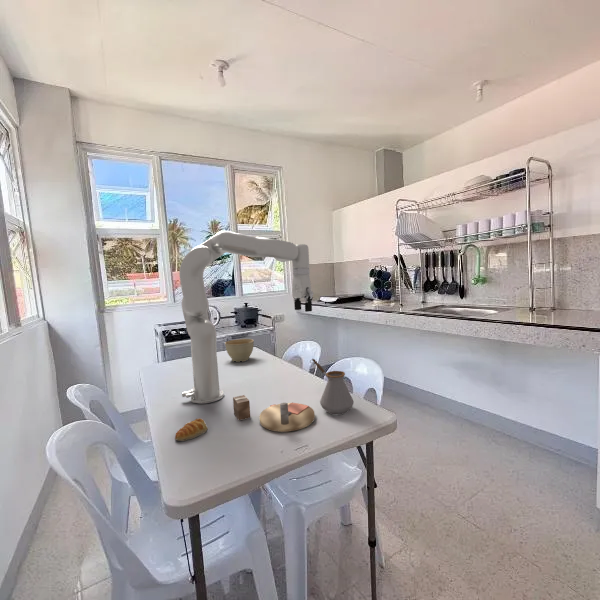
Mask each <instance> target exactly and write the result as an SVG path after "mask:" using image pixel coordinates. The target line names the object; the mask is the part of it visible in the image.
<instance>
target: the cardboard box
mask: <svg viewBox="0 0 600 600" xmlns="http://www.w3.org/2000/svg"><path fill="white" fill-rule="evenodd" d="M232 403H233V404H232V405H233V414H234V416H235V417H236V419H237V420H238V421H242V420H247V419H250V418H251V403H250V399H249V398H247V396H246V395H245V394H243V395H238V396H233V397H232Z"/></svg>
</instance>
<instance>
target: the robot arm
mask: <svg viewBox="0 0 600 600" xmlns="http://www.w3.org/2000/svg"><path fill="white" fill-rule="evenodd" d="M225 253H228V254H233V255H240V256H244V257H249V258H274V259H275V260H276V261H277V262H279V263H284V262H285V263H286V262H290V261H291V263H292V282H291V283H292V285H291V289H292V291H291V293H292V297H293V303H294V311H300V310H302V301H301V299H304V301H305V302H304V312H312V311H313V297H314V292H313V290H312V285H311V284H312V283H311V278H310V277H311V276H310V275H311V272H310V254H309V253H310V252H309V246H308V244H305V243H300V244H298V243H297V244H295V243H293V242H291V241H286V240H280V239H277V238H276V239H275V238H270V237H269V238H268V237H261V236H254V235H248V234H244V233H238V232H234V231H229V230H220V231H218V232H217V233H216V234H213V236H211V237H209V238H208V239H207V240H206V241H204V242H202V243H201V244H199V245H197V246H195V247H193V248H192V249H191V250H190V251H188V252H187V253H186V255H185V256H184V258H183V259H182V261H181V263H180V266H179V281H180V287H181V291H182V292H181V293H182V299H181V310H182V313H183V318H184V323H185V327H186V328H185V329H186V330H187V333H188V336H189V337H190V351H191V363H192V364H191V365H192V374H193V375H192V376H193V386H192V389H190V390H188V391H187V390H186V391H182V392H181V397H182V398H185V397H186V399H187V398H188V399H189V398H190V402H192V403H194V404H202V405H203V404H210V403H216V402H217V401H219V400H221V399H222V398H224V396H225V394H224V391H223V390H221V389H220V380H219V366H218V364H219V363H218V356H217V355H218V354H217V352H218V351H217V330H216V327H215V325H214V324H213V323H212V321H210V319H209V314H208V310H209V306H210V305H209V299H208V296H207V291H206V286H205V281H204V271H205V269H206V268H207V267H209V266H210V265H211V263H213V262H214V261H215V260H217V259H218V258H220V257H222V255H224V254H225Z"/></svg>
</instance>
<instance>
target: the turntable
mask: <svg viewBox="0 0 600 600" xmlns="http://www.w3.org/2000/svg"><path fill="white" fill-rule="evenodd" d="M272 405H273V406H271V407H270V406H268V407H266V408H265V409H263V410H262V411H261V412H260V414H259V424H260V425H261V426H262V427H263V428H264V429H266V430H269V431H273V432H280V433H281V432H283V433H285V432H287V433H288V432H293V431H299V430H302V429H304V428H307V427H309V426H310V425H311V424H313V422H315V410H314V409H313V408H312V407H311V406H309V405H307V404H304V403H299V402H298V403H297V402H281V403H277V404H276V405H274V404H272Z"/></svg>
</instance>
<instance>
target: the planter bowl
mask: <svg viewBox="0 0 600 600" xmlns="http://www.w3.org/2000/svg"><path fill="white" fill-rule="evenodd" d="M254 342H255V341H254V339H252V338H238V339H232V340H228V341H225V342H224V345H225V350H226V353H227V355H228V356H229V358H231V361H232V362H234V361H236V362H235V363H241V362H240V361H242V362H247V361H249V360H248V359H250V357H251V355H252V354H253V350H254ZM246 360H247V361H246Z"/></svg>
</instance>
